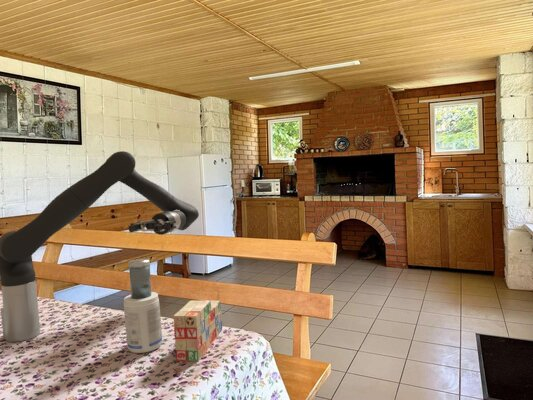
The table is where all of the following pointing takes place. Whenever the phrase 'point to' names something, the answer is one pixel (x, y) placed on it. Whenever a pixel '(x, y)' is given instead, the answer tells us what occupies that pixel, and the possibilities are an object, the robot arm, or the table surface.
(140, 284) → the tea tin
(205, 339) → the stack of blocks
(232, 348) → the table surface
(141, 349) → the supplement tub
